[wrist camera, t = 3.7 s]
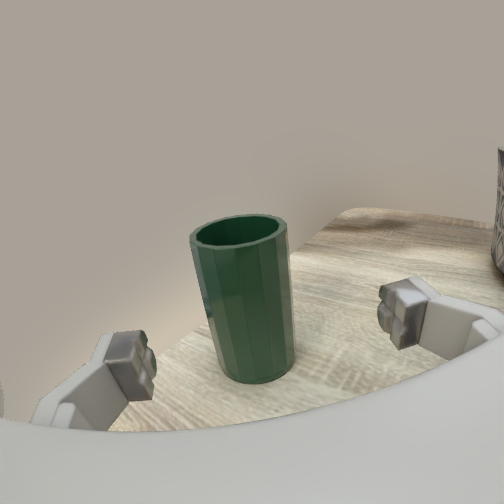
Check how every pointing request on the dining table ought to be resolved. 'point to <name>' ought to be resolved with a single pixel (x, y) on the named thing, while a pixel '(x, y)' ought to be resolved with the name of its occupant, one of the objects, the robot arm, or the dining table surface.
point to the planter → (499, 217)
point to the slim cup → (247, 294)
